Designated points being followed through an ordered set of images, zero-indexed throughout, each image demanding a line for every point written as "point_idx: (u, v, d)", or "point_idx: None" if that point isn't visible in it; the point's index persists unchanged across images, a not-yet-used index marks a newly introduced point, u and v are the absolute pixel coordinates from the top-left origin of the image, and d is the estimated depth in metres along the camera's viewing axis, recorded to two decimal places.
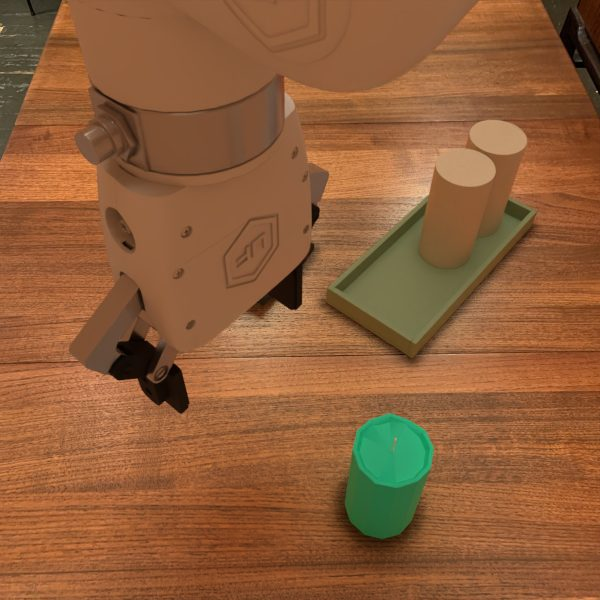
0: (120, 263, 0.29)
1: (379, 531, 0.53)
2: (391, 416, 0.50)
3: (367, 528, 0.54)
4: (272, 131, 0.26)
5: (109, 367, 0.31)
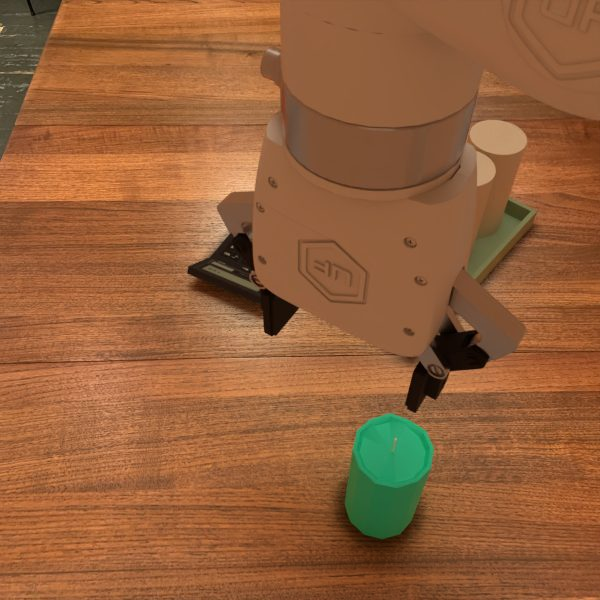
0: None
1: (379, 531, 0.53)
2: (391, 416, 0.50)
3: (367, 528, 0.54)
4: (345, 173, 0.24)
5: (233, 231, 0.37)
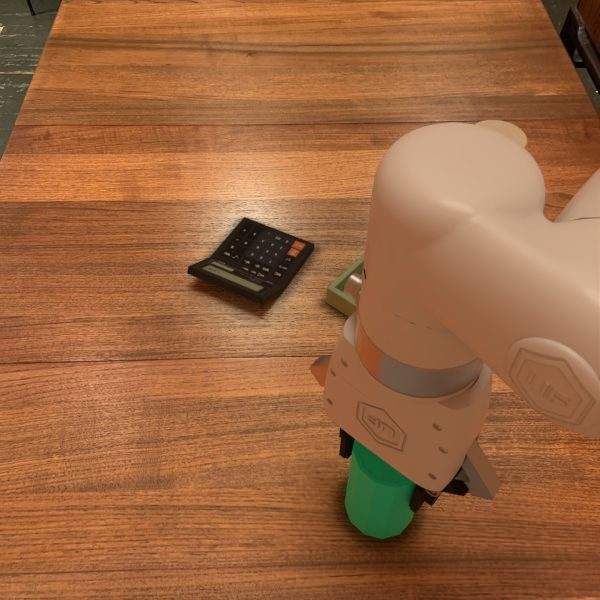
0: None
1: (379, 531, 0.53)
2: None
3: (367, 528, 0.54)
4: (395, 384, 0.35)
5: (323, 385, 0.48)
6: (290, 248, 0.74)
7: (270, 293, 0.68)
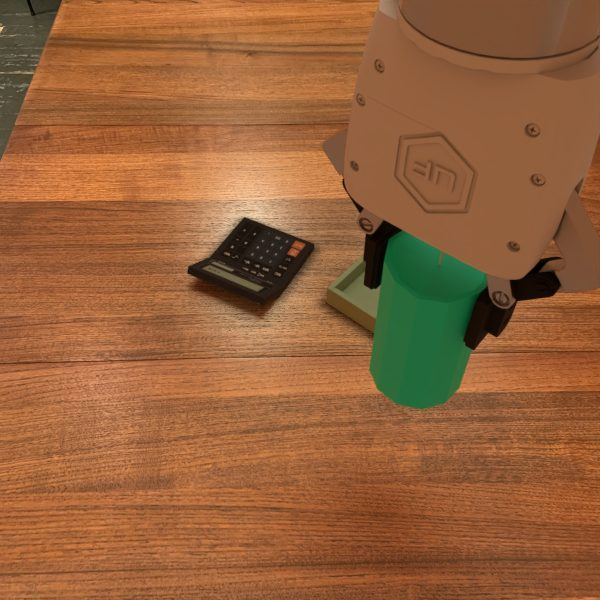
0: None
1: (419, 394, 0.39)
2: None
3: (402, 391, 0.40)
4: (470, 36, 0.22)
5: (342, 171, 0.35)
6: (290, 248, 0.74)
7: (270, 293, 0.68)
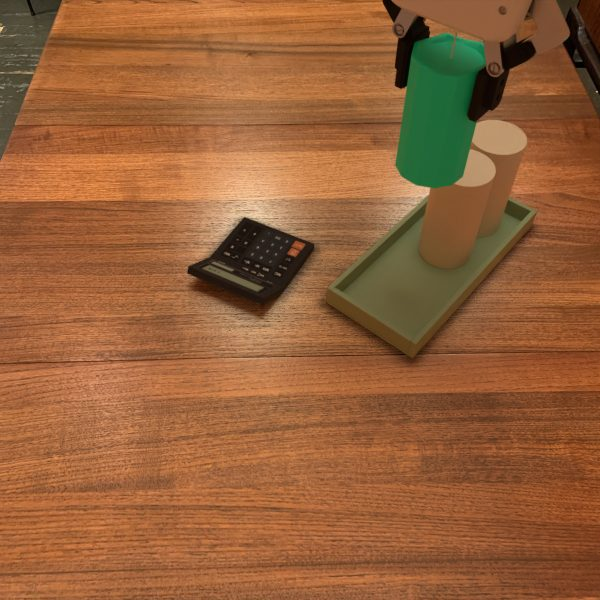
0: None
1: (433, 172, 0.53)
2: (448, 35, 0.50)
3: (421, 171, 0.54)
4: None
5: None
6: (290, 248, 0.74)
7: (270, 293, 0.68)
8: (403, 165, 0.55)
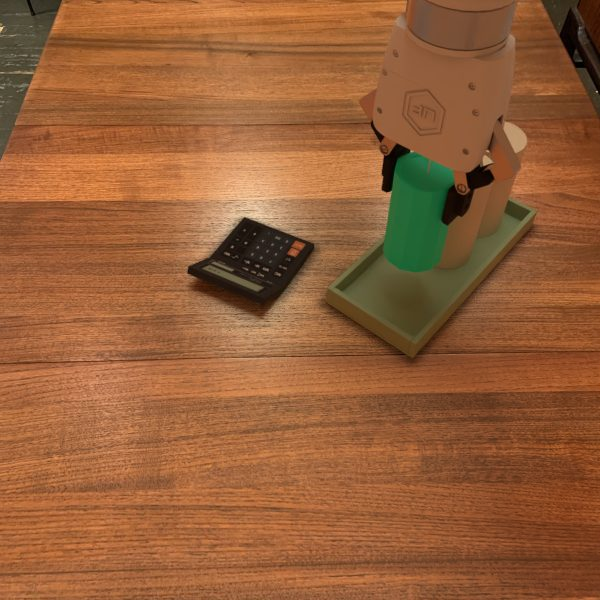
0: None
1: (414, 261, 0.63)
2: None
3: (404, 259, 0.63)
4: (440, 39, 0.45)
5: (370, 117, 0.58)
6: (290, 248, 0.74)
7: (270, 293, 0.68)
8: (389, 253, 0.64)
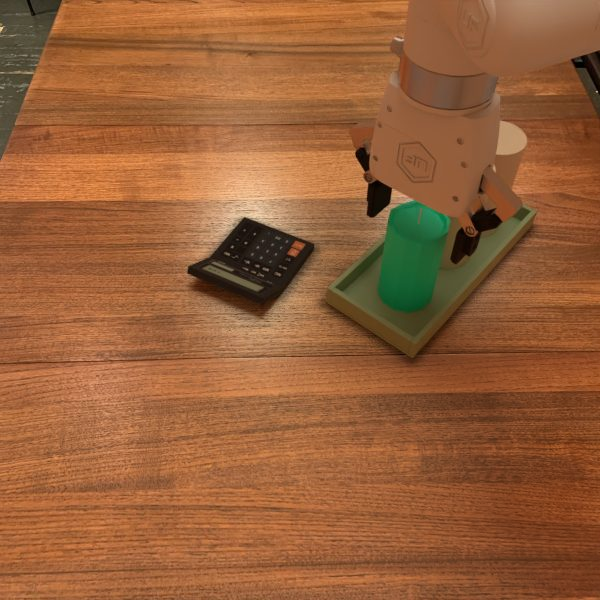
0: None
1: (406, 302, 0.68)
2: (416, 202, 0.65)
3: (396, 300, 0.68)
4: (430, 99, 0.49)
5: (357, 146, 0.62)
6: (290, 248, 0.74)
7: (270, 293, 0.68)
8: (383, 294, 0.69)
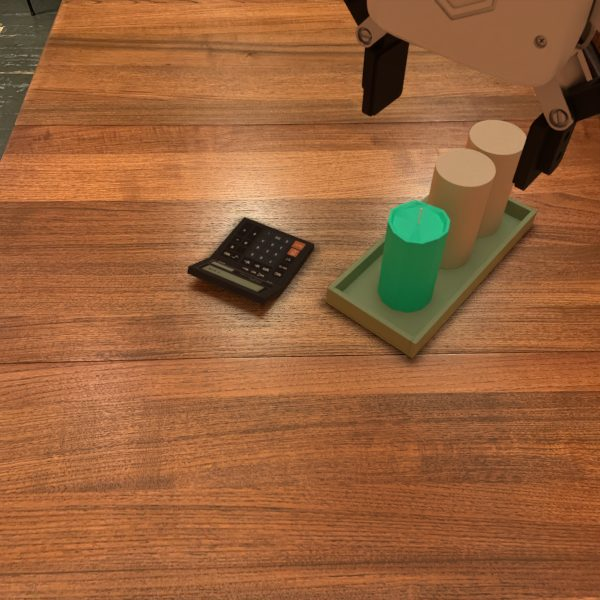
0: None
1: (406, 302, 0.68)
2: (416, 202, 0.65)
3: (396, 300, 0.68)
4: None
5: None
6: (290, 248, 0.74)
7: (270, 293, 0.68)
8: (383, 294, 0.69)
